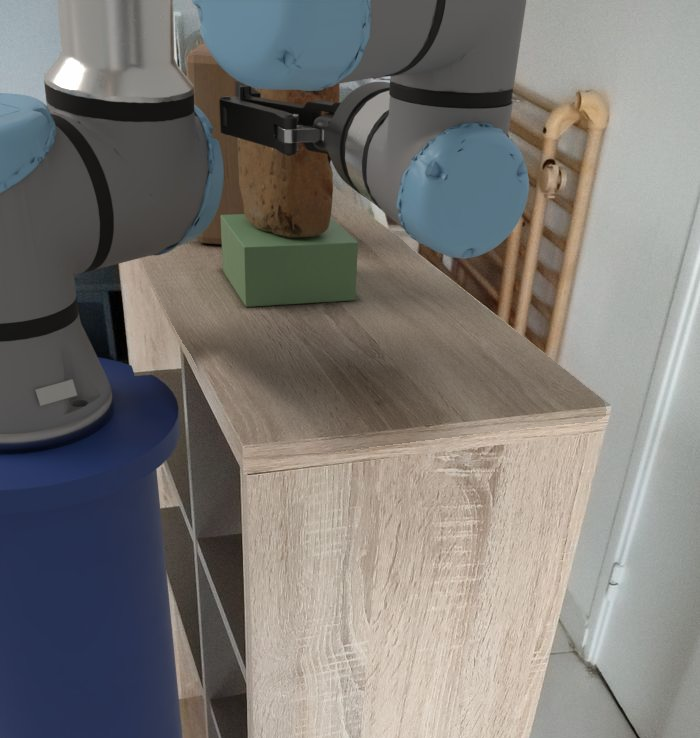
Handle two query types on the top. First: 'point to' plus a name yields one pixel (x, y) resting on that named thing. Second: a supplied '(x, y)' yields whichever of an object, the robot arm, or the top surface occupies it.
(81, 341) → the robot arm
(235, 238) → the green base
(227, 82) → the wooden block
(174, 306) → the top surface
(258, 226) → the brown porous chunk
